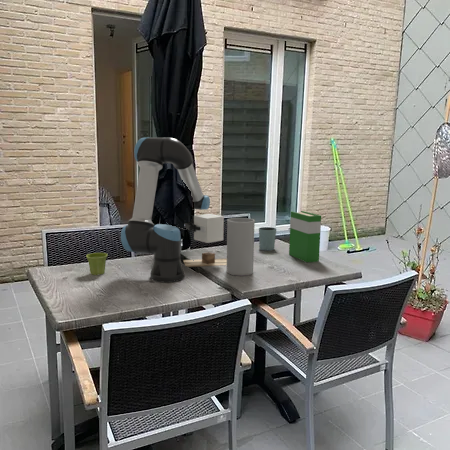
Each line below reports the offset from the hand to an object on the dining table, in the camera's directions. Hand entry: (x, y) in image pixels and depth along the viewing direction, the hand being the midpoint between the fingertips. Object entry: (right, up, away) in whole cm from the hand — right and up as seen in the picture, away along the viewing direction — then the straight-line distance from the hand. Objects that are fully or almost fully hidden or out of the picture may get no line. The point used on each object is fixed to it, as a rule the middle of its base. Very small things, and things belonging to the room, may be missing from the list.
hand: (214, 228), depth 221 cm
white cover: (-3, -6, +4) cm, 8 cm away
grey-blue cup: (+30, -12, +41) cm, 52 cm away
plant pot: (-53, -21, -14) cm, 59 cm away
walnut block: (-3, -17, +6) cm, 18 cm away
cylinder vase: (+12, -21, -9) cm, 26 cm away
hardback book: (+47, -16, +21) cm, 54 cm away
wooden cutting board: (-3, -18, +6) cm, 19 cm away
